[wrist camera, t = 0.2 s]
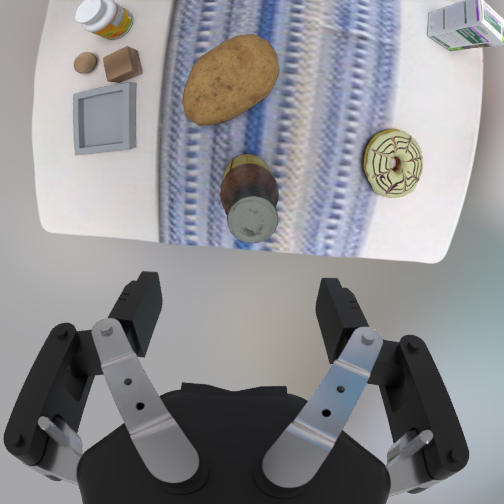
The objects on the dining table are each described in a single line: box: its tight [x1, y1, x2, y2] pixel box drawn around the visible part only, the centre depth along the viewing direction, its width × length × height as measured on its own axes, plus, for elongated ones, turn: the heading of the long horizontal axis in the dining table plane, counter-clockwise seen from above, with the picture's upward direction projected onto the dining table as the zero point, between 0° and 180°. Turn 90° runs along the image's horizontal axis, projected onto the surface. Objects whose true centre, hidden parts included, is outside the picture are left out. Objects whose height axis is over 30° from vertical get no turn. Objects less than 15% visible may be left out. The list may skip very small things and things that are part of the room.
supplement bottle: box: [75, 0, 133, 39], centre depth 22 cm, size 5×5×10 cm
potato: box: [183, 34, 279, 126], centre depth 29 cm, size 10×14×8 cm
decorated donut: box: [364, 129, 423, 198], centre depth 36 cm, size 10×11×4 cm
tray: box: [73, 82, 136, 155], centre depth 33 cm, size 10×10×2 cm
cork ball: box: [74, 52, 96, 73], centre depth 27 cm, size 4×4×4 cm
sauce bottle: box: [220, 154, 279, 243], centre depth 30 cm, size 6×6×20 cm
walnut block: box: [103, 46, 143, 83], centre depth 28 cm, size 4×4×4 cm
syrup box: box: [427, 0, 504, 51], centre depth 19 cm, size 6×6×14 cm
